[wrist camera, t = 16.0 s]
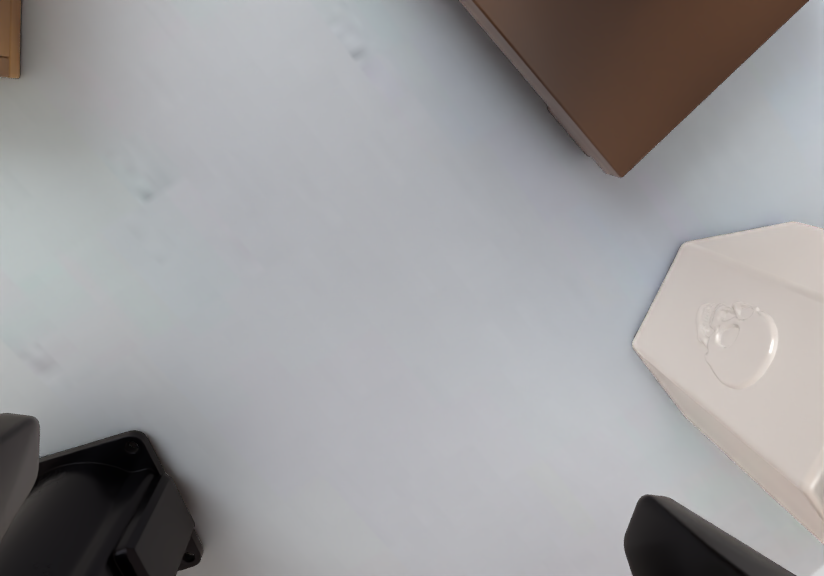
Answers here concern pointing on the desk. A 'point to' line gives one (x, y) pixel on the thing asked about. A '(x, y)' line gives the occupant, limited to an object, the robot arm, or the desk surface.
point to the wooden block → (627, 61)
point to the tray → (10, 38)
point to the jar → (749, 355)
